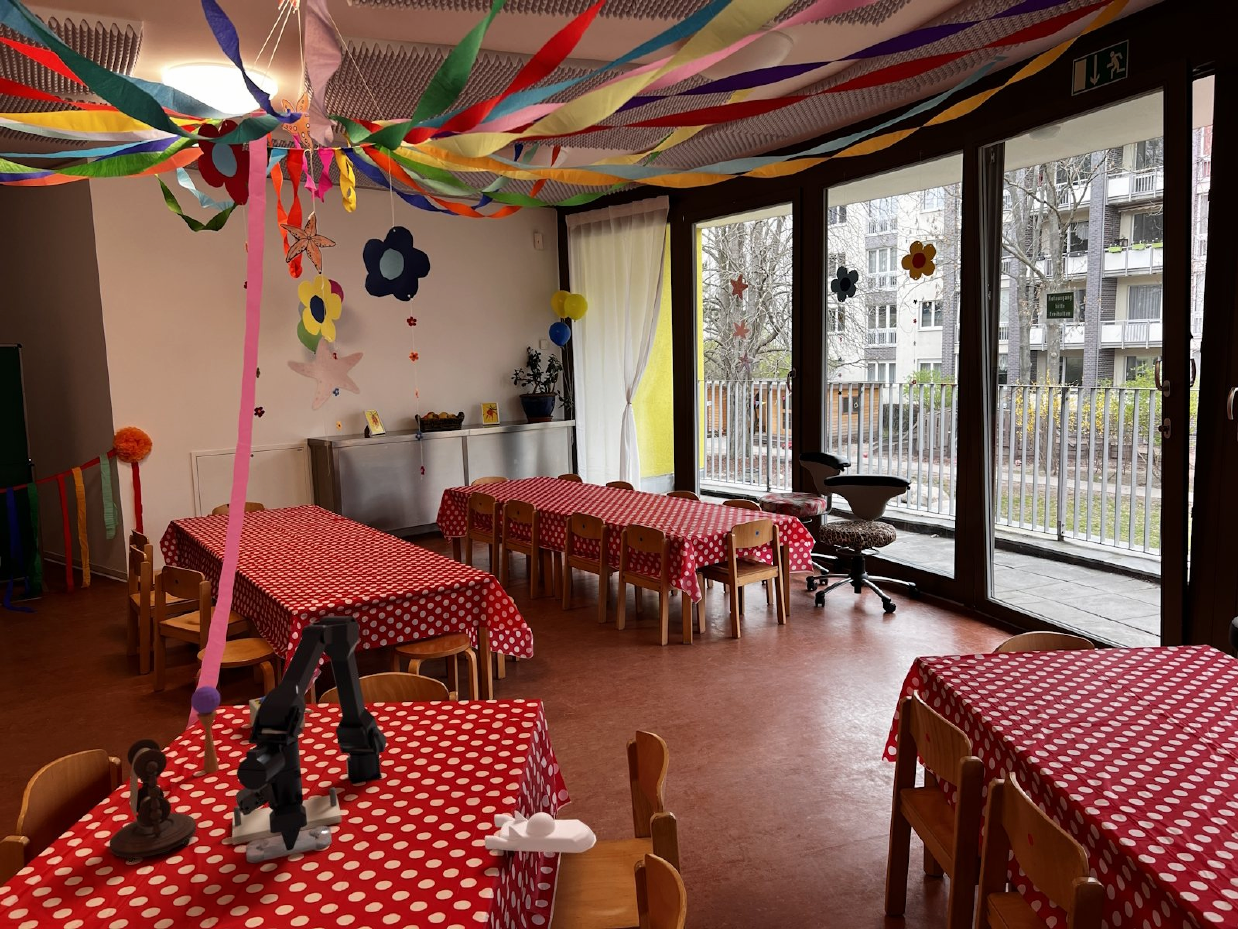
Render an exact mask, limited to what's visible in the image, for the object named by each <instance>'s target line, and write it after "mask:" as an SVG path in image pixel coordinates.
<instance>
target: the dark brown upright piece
mask: <svg viewBox="0 0 1238 929" xmlns="http://www.w3.org/2000/svg"><path fill="white" fill-rule="evenodd" d="M127 761H128V763H129V765H130V766H131V770H130V782H129V791H130V792H129V801H130V803H129V805H130V808H131V809H130V810H131V812H132V814H133V817H134V818H135V820H134V821H132V822H130V823H128V824H126V825H125V826H122V828H120V829H119V830H117V831H116V832H115V833H114V834H112V836H111V837H110V840H109V850H110V853H112V854H113V855H114V856H116V857H119V858H127V861H128V863H129V862H131V863H133V862H135V858H145V857H150V856H155V855H158V854H161V853H165V852H167V851H169V850H173V849H175V848H177V847H179V846H181V845H182V844H183V845H184V846H185V847H187V846H189V843H190V838H192V837H193V836H194V834H195V833H196V830H197V825H196V824H197V823H196V820H195V818H194V817H192V816H191V815H189V814H184V813H180V812H171V811H172V805H171V802H170V800H169V799H167V798H165V793H164V790H163V789H162V788H161V787H160V785H158V782H159V781H158V778H159V777H160V776H161V774H162V773H163V772H164V771H165V770H166V767H167V764H168V763H167V762H168V759H167V756H166V754H165V752H163V751H162V750H161V748H160V745H159V743H158V742H157V741H155V740H153V739H151V738H143V739H139V740H137V741H135V742H134V743H133V744H132V745H131V746H130V747H129V749H128V752H127ZM139 780H140V782H141V787H140V788H139Z"/></svg>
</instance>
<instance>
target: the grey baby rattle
mask: <svg viewBox="0 0 1238 929" xmlns="http://www.w3.org/2000/svg"><path fill="white" fill-rule="evenodd" d="M331 843H332V829H331V827H329V826H328V825H325V826H320V827H315V828H311V829H306V830H301V831H300V832H299V835H298V837H297V840H296V843H295V845H294V848H293V849H292V850H287V849H286V846H285V843H284V840H283V837H282V835H277V836H273V837H268V838H263V839H258V840H254V841H249V842H248V843H247V845H245V846H246V847H245V852H246V860H247V862H249V863H251V864H252V863H253V864H254V863H255V864H257V863H261V862H263V861H267V860H271V859H277V858H280V857H286V856H290V855H294V854H300V853H304V852H308V851H312V850H320V849H324V848H327V847H329V846H330V845H331Z"/></svg>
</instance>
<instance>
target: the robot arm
mask: <svg viewBox="0 0 1238 929" xmlns="http://www.w3.org/2000/svg"><path fill="white" fill-rule="evenodd" d="M301 630H302V631H301V634H300V637H301V638H300V640H299V641H298V642H299V643H298V645H297V646H296V649H295V651H294V653H293V655H292V657H291V660H290V662H289V663H288V666H287V668H286V670H285V672H284V674H283V677H282V679H281V681H280V682H279V684H278V685H276V686H275V687H274V688H272V690H270V691H269V692H267V694H266V695H265V696H266V697H265V696H264V697H265V698H264V700H263V702H262V703H261V705H260V707H259V708H258V711H257V714H256V717H255V721H254V724H253V726H252V729H251V732H250V735H249V739H248V744H253V745H255V746H254V747H252V748H250V749H248V750H247V751H246V753H245V757H246V758H245V759H243V760H242V761H240V763H239V765H238V767H237V770H236V776H237V779H238V781H239V783H240V784H241V785H242V786H243V788H241V789H239V790H238V791H237V792H236V794H235V801H236V804H237V806H239V810H240V811H241V813H243V815H248V814H250V813H251V812H252V811H254V810H258V809H260V808H261V807H263V806H264V805H266V804H268V807H267V808H269V807H270V809H272V810H273V811H272V812H271V813H270V814H269V818H270V833H277V832H281V834H282V837H283V840H284V843H285V846H286V849H287V850H292V849H293V848H294V845H295V843H296V840H297V837H298V835H299V832H300V829H301V827H305V826H306V825H307V816H306V809H305V807H304V806H303V805H302V804H303V801H304V798H303V795H304V794H303V780H302V770H301V758H300V756H301V755H300V745H299V744H300V742H299V736H300V735H301V734H302V733H303V732H304V728H300V725H301V723H302V721H303V718H304V715H305V710H307V704H306V700H305V694H306V691H307V690H308V687H309V685H310V682H311V680H312V677H313V675H314V674H315V671H316V669H317V666H318V664H319V662H320V661H321V657H322V655H323V653H324V654H325V655H326V657H328V658H329V659H330V663H331V669H332V673H333V677H334V682H335V686H336V687H335V688H336V690H337V691H336V692H337V695H338V696H337V697H338V700H339V705H340V711H341V715H342V716H341V719H340V721H339V723H338V725H337V727H336V729H335V734H336V737H337V744H338V746H339V748H340V753H341V754H348V757H346V771H347V779H348V780H349V781H350V783H351V784H352V785H356V784H362V783H367V782H370V781H376V780H382V778H383V776H382V773H381V760H380V758H381V757H380V753H381V754H382V753H383V752H386V750H385V748H386V747H387V746H386V745H387V736H386V735H385V734H384V733H383V732H382V730H381V729H380V728H379V726H378V724H377V721H376V717H375V716H374V715H373V714H372V713H371V712H370V711H369V710H368V709H367V708H366V704H365V701H364V695H363V691H362V686H361V680H360V675H359V670H358V666H357V665H358V664H357V660H356V656H355V649H356V646H357V645H358V642H359V640H360V634H359V633H360V625H359V623H358V621H357V618H356V617H353V616H345V615H344V616H343V615H341V616H340V615H339V616H337V615H332V616H331V615H330V616H329V615H326V616H324V615H323V617H321V618H320V620H319V621H315V622H314V621H313V622H310V623H309V624H308V625H305V626H303V627H302V629H301ZM262 730H265V731H279V732H277V733H276V734H274V733H261V732H262Z"/></svg>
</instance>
